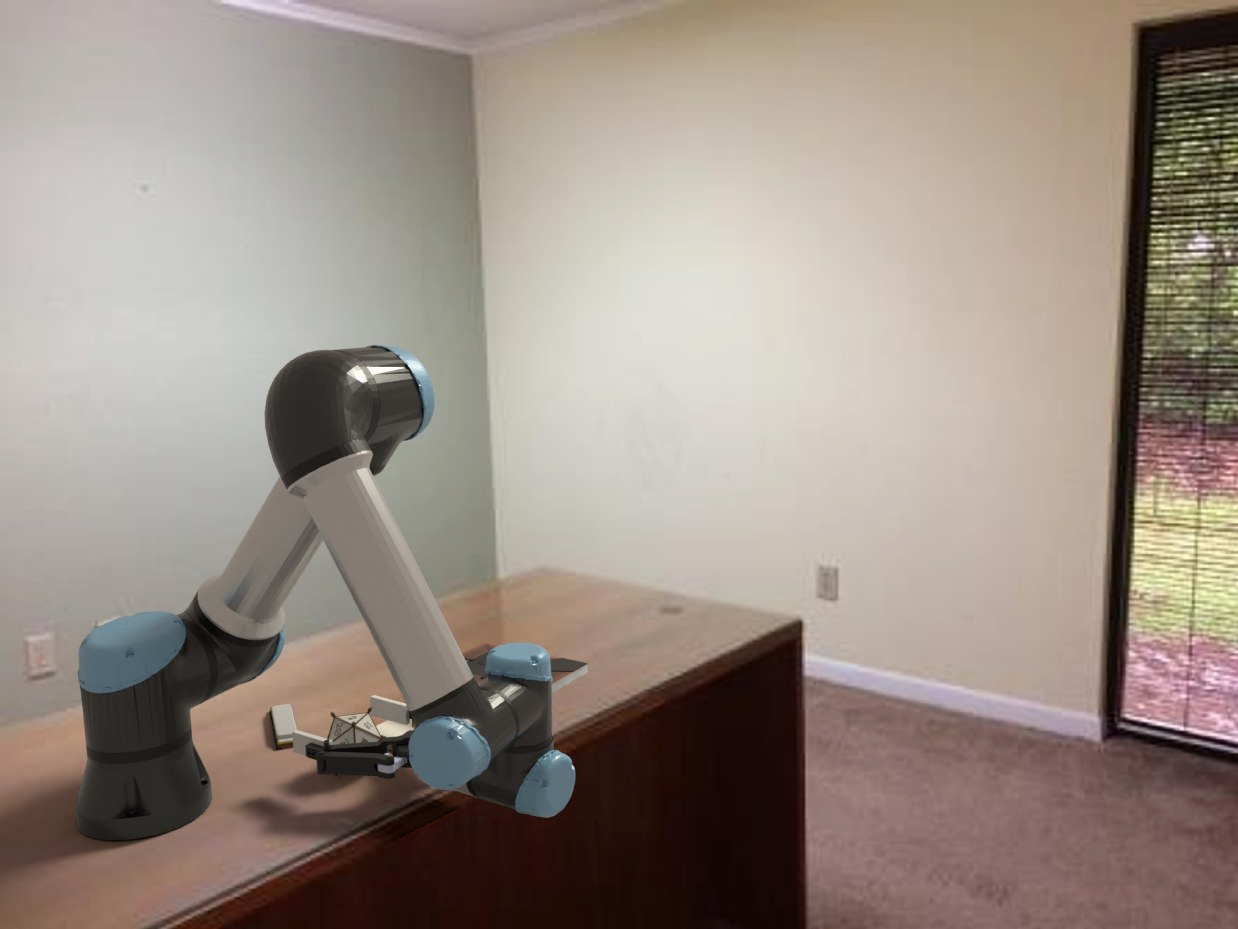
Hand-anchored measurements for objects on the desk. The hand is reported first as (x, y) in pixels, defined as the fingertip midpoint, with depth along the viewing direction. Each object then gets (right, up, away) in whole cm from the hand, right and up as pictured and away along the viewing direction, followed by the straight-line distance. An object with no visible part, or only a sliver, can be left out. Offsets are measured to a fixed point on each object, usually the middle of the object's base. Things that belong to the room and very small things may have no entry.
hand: (335, 722), depth 138 cm
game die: (+3, -6, -1) cm, 7 cm away
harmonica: (-11, -5, +13) cm, 18 cm away
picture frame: (+19, -2, +33) cm, 38 cm away
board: (+12, -4, +14) cm, 19 cm away
